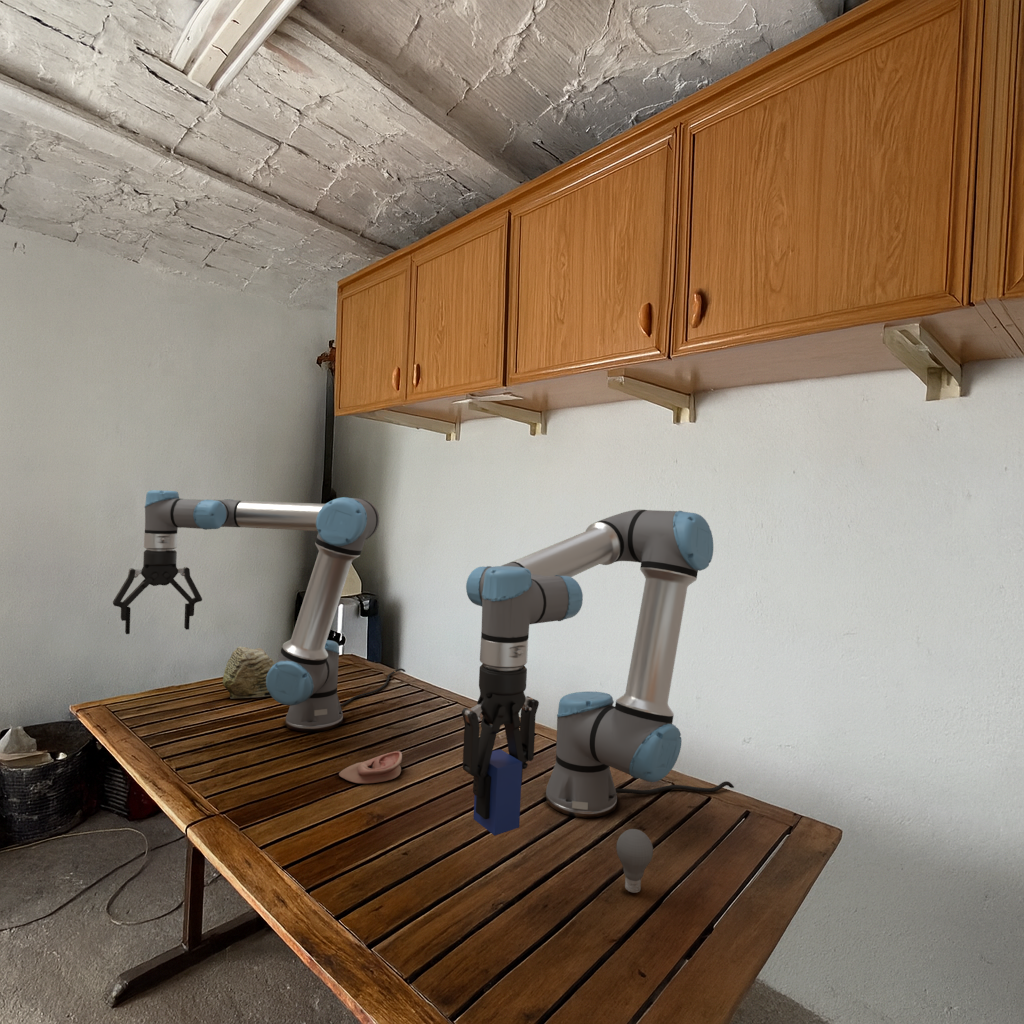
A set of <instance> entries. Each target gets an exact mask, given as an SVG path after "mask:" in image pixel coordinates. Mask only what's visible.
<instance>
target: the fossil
mask: <svg viewBox="0 0 1024 1024" xmlns="http://www.w3.org/2000/svg"><path fill="white" fill-rule="evenodd" d="M274 664H276V662H274V660H273V659H272V658H271V657H270V656H269V655H268V654H267V653H266V652H265V650H264V649H263V648H260V647H258V648H251V647H247V646H246V647H245V646H238V647H237V648H236V649H235V650H233V651H232V653H231V656H230V657H229V659H228V660H227V663H226V666H225V668H224V671H223V675H222V676H223V677H222V685H223V687H224V688H225V690H226V691H228V693H229V698H230V699H250V698H264V697H272V696H271V694H270V693H269V691H268V690H267V686H266V677H267V674H268V672H269V670H270V669H271V668H272V666H273V665H274Z"/></svg>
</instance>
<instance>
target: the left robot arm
mask: <svg viewBox="0 0 1024 1024" xmlns="http://www.w3.org/2000/svg"><path fill="white" fill-rule="evenodd" d="M379 526H380V513H379V511H378V509H377V508H376V506H375V505H374V504H373V503H372V502H371V501H369V500H367V499H365V498H359V497H347V496H343V497H337V498H334V499H332V500H330V501H328V502H326V503H312V502H289V501H285V502H284V501H264V500H263V501H262V500H261V501H260V500H238V499H237V500H236V499H196V498H195V499H194V498H189V499H188V498H180V493H179V492H178V491H177V490H158V489H150V490H148V491H147V492H146V496H145V505H144V533H143V534H144V535H143V536H144V537H143V548H144V549H145V550H144V551H143V563H142V564H143V565H142V567H141V569H137V568H133V567H131V568H129V569H128V573H127V577H126V579H125V581H124V582H123V584H122V585H121V588H120V589H119V591H118V592H117V594H116V596H115V597H114V599H113V600H112V605H113V607H118V608H120V620H121V621H122V622H123V621H124V622H125V626H124V633H125V635H130V634H131V607H130V605H131V604H132V602H133V601H135V600H136V598H138V596H139V595H141V594H142V593H143V592H144V591H145V589H146V588H148V587H149V586H153V587H158V586H167V585H168V586H169V584H170V585H171V586H172V587H173V588H174V589H175V590H176V591H177V592H178V593H179V594H180V595H181V596H182V597H183V598H184V599H185V600H186V601H187V602H188V603H184V629H185V630H190V622H191V621H190V619H191V617H194V615H195V605H196V604H197V603H200V602H202V601H203V597H202V596H201V594H200V592H199V589H198V588H197V586H196V584H195V583H194V579H192V577H191V570H190V568H189V567H188V566H184V567H180V568H178V566H177V557H178V555H177V553H178V552H177V550H175V549H177V548H178V529H181V528H185V529H197V530H199V529H200V530H206V531H207V530H218V529H220V528H248V529H250V528H251V529H268V530H286V531H287V530H288V531H308V532H317V536H316V539H315V542H314V544H315V546H316V548H317V550H318V553H317V556H316V560H315V562H314V566H313V569H312V572H311V575H310V578H309V581H308V584H307V587H306V591H305V594H304V597H303V600H302V604H301V606H300V610H299V613H298V616H297V620H296V621H295V626H294V628H293V632H292V634H291V638H290V639H289V640H287V641H285V642H283V644H282V646H281V649H280V652H279V655H278V659H277V662H275V664H274V665H273V666H272V668H271V669H270V670H269V672H268V674H267V677H266V686H267V690H268V691H269V693H270V694H271V696H270V697H271V698H272V699H273V700H274V701H275V702H277V703H279V704H281V705H284V706H289V708H288V711H287V713H286V715H285V726H286V728H287V729H289V730H291V731H294V732H295V731H296V732H301V733H316V732H325V731H329V730H332V729H335V728H337V727H339V726H340V725H342V723H343V722H344V714H343V709H342V707H344V706H346V705H348V704H349V703H350V702H352V701H353V700H355V699H358V698H361V697H363V696H369V695H372V694H374V693H377V692H379V691H381V690H382V689H384V688H386V686H387V685H388V684H389V681H390V677H391V676H392V675H394V674H395V673H397V672H400V671H402V672H403V673H406V669H404V668H402V667H401V668H397V669H395V670H393V671H392V672H390V673H388V675H387V678H386V681H385V683H384V684H383V685H382V686H380V687H378V688H376V689H374V690H371V691H368V692H364V693H359V694H357V695H354V696H353V697H350V698H349V699H348V700H347V701H345V702H343V703H341V702H340V699H339V695H338V682H339V681H338V680H339V662H340V661H339V660H340V659H339V657H340V645H339V643H338V642H337V641H335V640H330V639H328V638H329V634H330V632H331V628H332V625H333V622H334V619H335V616H336V613H337V609H338V606H339V604H340V600H341V597H342V594H343V592H344V591H343V590H344V588H345V586H346V581H347V579H348V575H349V572H350V569H351V565H352V562H353V561H354V560H355V559H357V558H359V557H361V555H362V551H363V548H364V545H365V543H366V542H365V541H366V540H368V539H370V538H371V537H373V535H374V534H376V532H377V530H378V528H379ZM178 574H180V576H182V577H183V578H184V580H185V582H186V584H187V585H188V587H189V589H190V591H191V593H192V595H193V596H194V597H191V596H190V595H189V594H188V592H187V591H186V590H185V589H184V588H183V586H181V585H180V584H179V583H178V582H177V581H176V580H175V578H176V577H177V576H178ZM139 575H141V576H142V577H143V580H141V582H140V584H138V585H137V587H136V588H135V589H134V590H133V591H132V592H130V594H129V595H128V596H127V597H126V598H125V599H124V597H125V595H126V594H127V592H128V590H129V588H130V587H131V585H132V584H133V582H134V580H135V579H136V578H138V576H139ZM123 599H124V600H123ZM122 600H123V601H122ZM394 671H396V672H394Z"/></svg>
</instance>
